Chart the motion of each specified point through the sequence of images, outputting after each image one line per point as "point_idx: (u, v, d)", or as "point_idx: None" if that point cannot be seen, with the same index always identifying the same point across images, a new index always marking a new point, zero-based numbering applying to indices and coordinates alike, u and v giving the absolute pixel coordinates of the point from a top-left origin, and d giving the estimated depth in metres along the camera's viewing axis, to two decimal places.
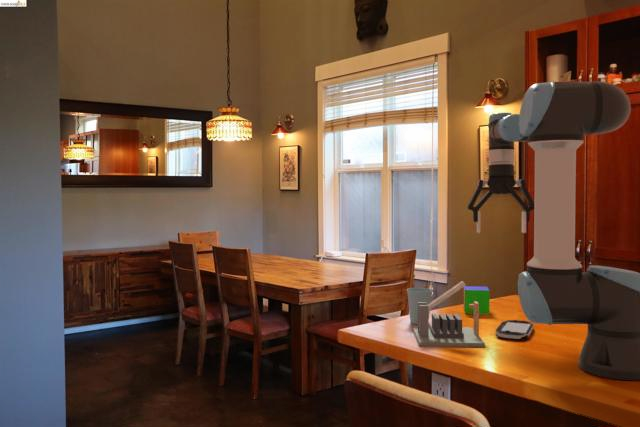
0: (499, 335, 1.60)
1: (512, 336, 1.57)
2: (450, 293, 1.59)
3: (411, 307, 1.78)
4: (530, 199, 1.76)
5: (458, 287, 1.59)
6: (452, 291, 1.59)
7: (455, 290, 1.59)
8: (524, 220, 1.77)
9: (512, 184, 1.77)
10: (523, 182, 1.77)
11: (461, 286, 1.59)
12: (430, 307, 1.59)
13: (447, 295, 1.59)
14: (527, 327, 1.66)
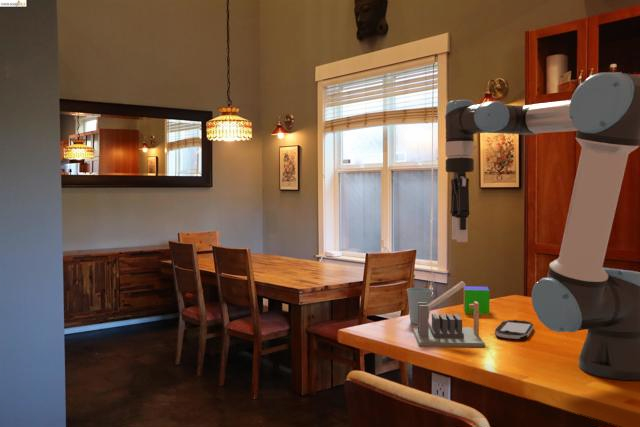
0: (498, 335, 1.60)
1: (511, 336, 1.57)
2: (450, 293, 1.59)
3: (411, 307, 1.78)
4: (459, 203, 1.53)
5: (458, 287, 1.59)
6: (452, 291, 1.59)
7: (455, 290, 1.59)
8: (457, 227, 1.56)
9: (457, 180, 1.56)
10: (459, 182, 1.53)
11: (461, 286, 1.59)
12: (430, 307, 1.59)
13: (447, 295, 1.59)
14: (527, 327, 1.66)
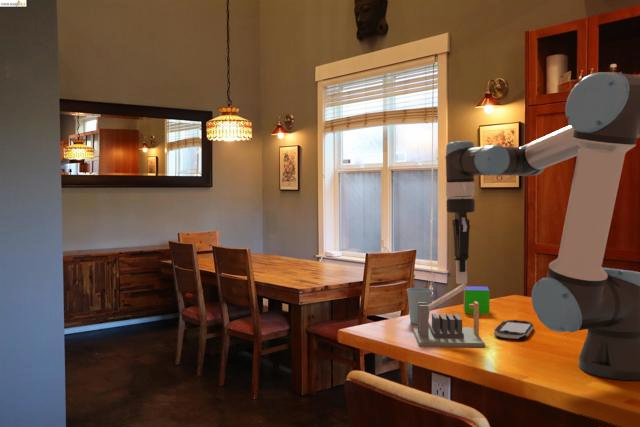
0: (497, 335, 1.60)
1: (510, 336, 1.58)
2: (451, 295, 1.59)
3: (411, 307, 1.78)
4: (459, 247, 1.56)
5: (459, 289, 1.59)
6: (453, 293, 1.59)
7: (456, 292, 1.59)
8: (456, 269, 1.60)
9: (458, 221, 1.57)
10: (459, 228, 1.54)
11: (462, 288, 1.59)
12: (430, 307, 1.59)
13: (448, 296, 1.59)
14: (527, 327, 1.66)
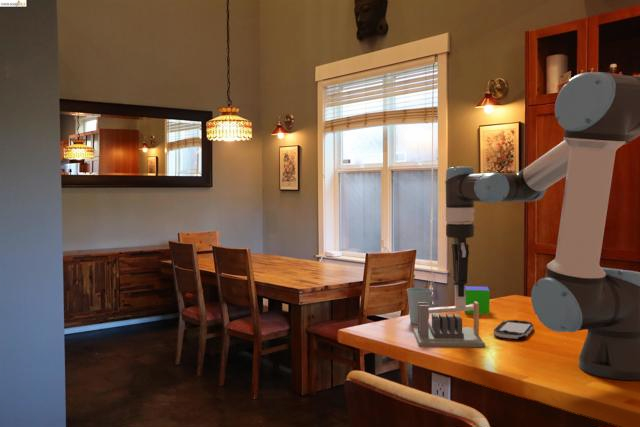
0: (497, 335, 1.60)
1: (509, 336, 1.58)
2: (456, 309, 1.59)
3: (411, 307, 1.78)
4: (458, 272, 1.56)
5: (466, 308, 1.59)
6: (459, 308, 1.59)
7: (462, 309, 1.59)
8: (455, 294, 1.60)
9: (457, 246, 1.57)
10: (459, 253, 1.54)
11: (469, 309, 1.59)
12: (431, 311, 1.59)
13: (452, 309, 1.59)
14: (526, 327, 1.66)
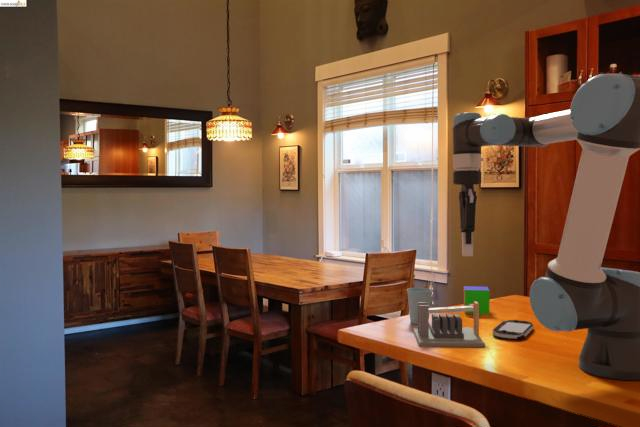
0: (495, 334, 1.60)
1: (508, 336, 1.58)
2: (456, 310, 1.59)
3: (411, 307, 1.78)
4: (465, 218, 1.55)
5: (466, 309, 1.59)
6: (459, 309, 1.59)
7: (462, 310, 1.59)
8: (462, 242, 1.59)
9: (465, 193, 1.56)
10: (466, 199, 1.53)
11: (469, 309, 1.59)
12: (431, 311, 1.59)
13: (452, 310, 1.59)
14: (526, 327, 1.66)
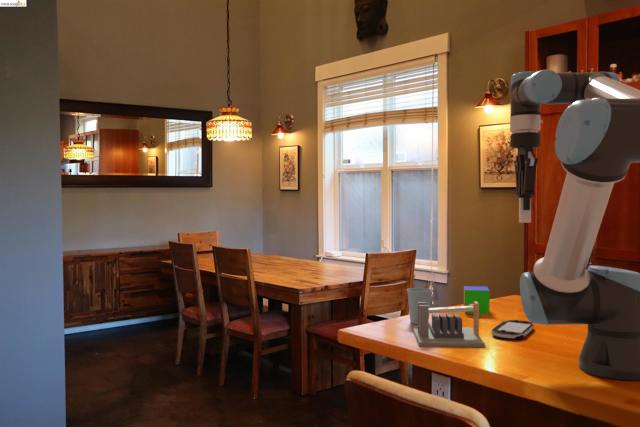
0: (494, 334, 1.61)
1: (507, 335, 1.58)
2: (456, 310, 1.59)
3: (411, 307, 1.78)
4: (524, 183, 1.48)
5: (466, 309, 1.59)
6: (459, 309, 1.59)
7: (462, 310, 1.59)
8: (520, 208, 1.52)
9: (524, 156, 1.49)
10: (526, 161, 1.46)
11: (469, 309, 1.59)
12: (431, 311, 1.59)
13: (452, 310, 1.59)
14: (525, 327, 1.66)
